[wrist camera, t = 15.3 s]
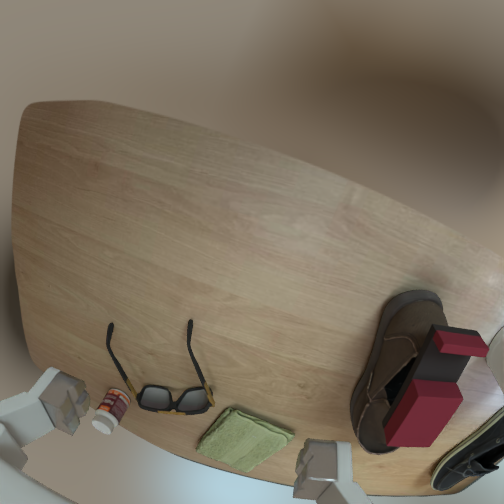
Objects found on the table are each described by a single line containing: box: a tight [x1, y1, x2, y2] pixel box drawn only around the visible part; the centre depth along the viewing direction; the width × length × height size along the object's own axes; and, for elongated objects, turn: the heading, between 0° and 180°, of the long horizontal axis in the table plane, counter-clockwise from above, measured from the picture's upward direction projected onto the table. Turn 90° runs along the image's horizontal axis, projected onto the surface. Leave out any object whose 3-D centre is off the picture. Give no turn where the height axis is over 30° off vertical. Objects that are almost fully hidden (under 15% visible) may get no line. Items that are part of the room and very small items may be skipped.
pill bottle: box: [92, 389, 130, 434], centre depth 50 cm, size 5×5×8 cm
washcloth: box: [195, 408, 295, 473], centre depth 51 cm, size 13×18×3 cm
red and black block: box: [382, 324, 489, 447], centre depth 28 cm, size 14×6×4 cm, turn 172°
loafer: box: [350, 290, 448, 455], centre depth 37 cm, size 11×30×11 cm, turn 6°
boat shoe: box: [430, 407, 504, 491], centre depth 43 cm, size 11×29×9 cm, turn 159°
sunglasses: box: [106, 320, 215, 415], centre depth 45 cm, size 14×15×5 cm
